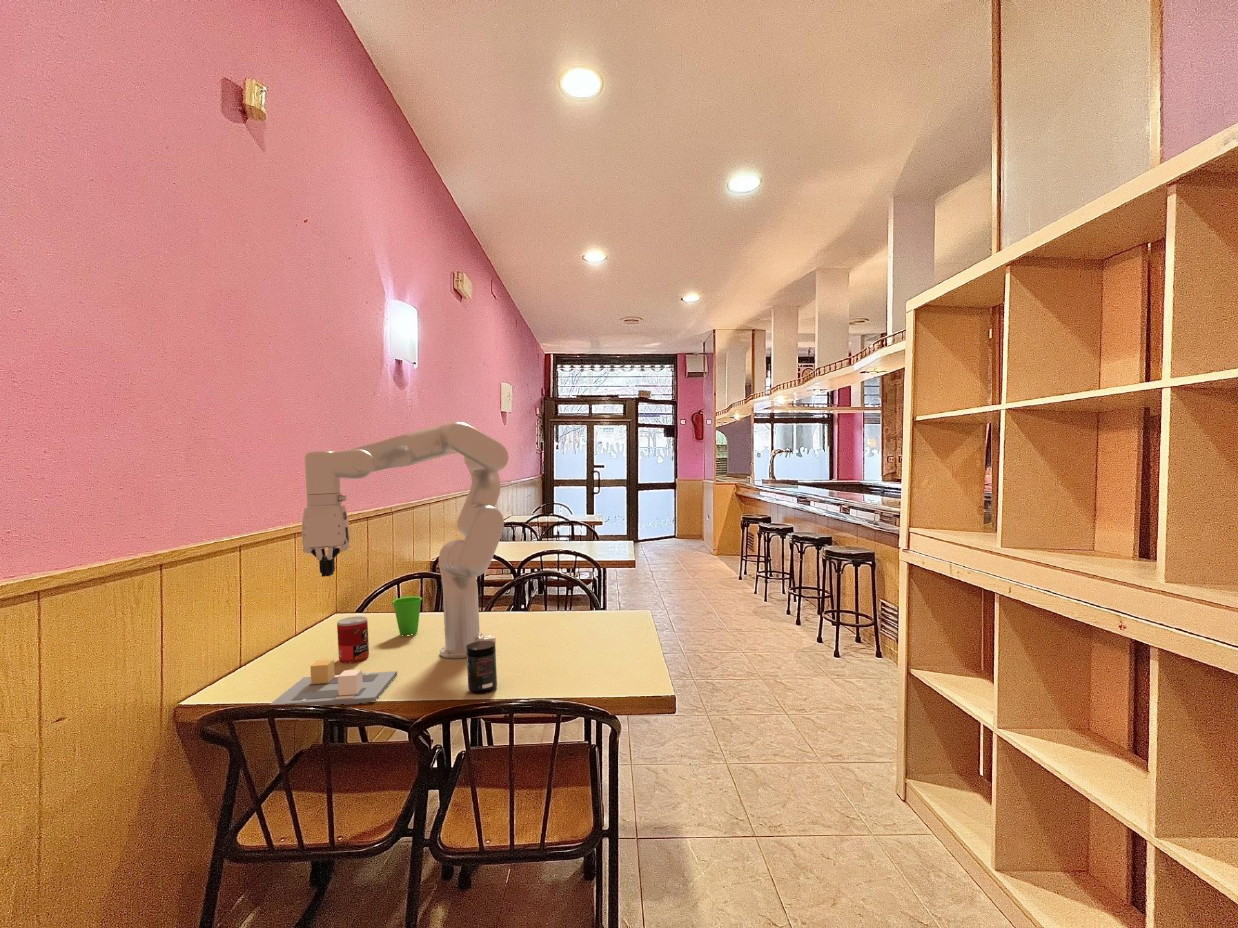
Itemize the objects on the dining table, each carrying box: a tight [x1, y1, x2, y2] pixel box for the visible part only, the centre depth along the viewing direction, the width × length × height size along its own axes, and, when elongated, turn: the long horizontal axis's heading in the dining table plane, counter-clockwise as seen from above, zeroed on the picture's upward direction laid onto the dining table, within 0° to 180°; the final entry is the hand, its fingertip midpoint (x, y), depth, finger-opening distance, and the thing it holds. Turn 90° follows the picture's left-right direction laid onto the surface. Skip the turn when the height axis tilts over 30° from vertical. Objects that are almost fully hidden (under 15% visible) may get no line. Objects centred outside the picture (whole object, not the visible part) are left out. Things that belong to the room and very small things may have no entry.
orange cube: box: [310, 659, 336, 684], centre depth 148 cm, size 4×4×4 cm
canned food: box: [336, 615, 370, 664], centre depth 168 cm, size 8×8×11 cm
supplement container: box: [466, 641, 498, 695], centre depth 141 cm, size 7×7×10 cm
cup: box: [391, 596, 423, 637], centre depth 191 cm, size 9×9×11 cm
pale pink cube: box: [338, 668, 363, 696], centre depth 140 cm, size 4×4×4 cm
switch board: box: [269, 670, 398, 706], centre depth 144 cm, size 23×17×1 cm
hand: (327, 575), depth 148 cm, fingers closed
